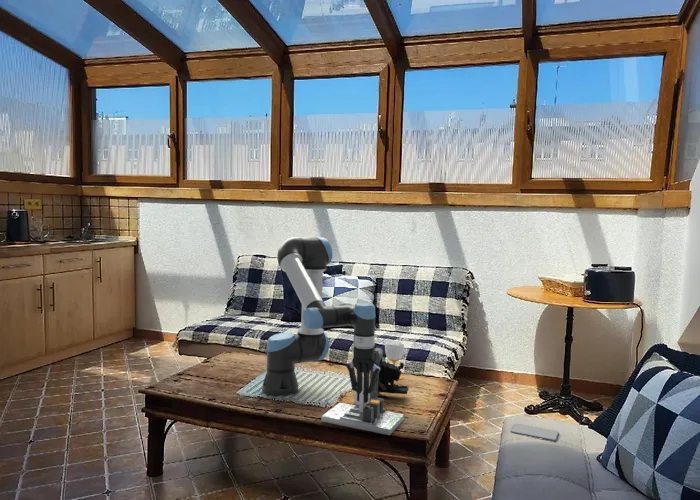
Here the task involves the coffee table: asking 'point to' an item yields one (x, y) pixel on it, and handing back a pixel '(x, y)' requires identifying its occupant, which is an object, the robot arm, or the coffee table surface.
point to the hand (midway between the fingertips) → (362, 410)
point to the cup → (394, 351)
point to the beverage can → (362, 390)
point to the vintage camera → (386, 376)
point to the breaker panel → (361, 426)
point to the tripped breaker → (375, 407)
